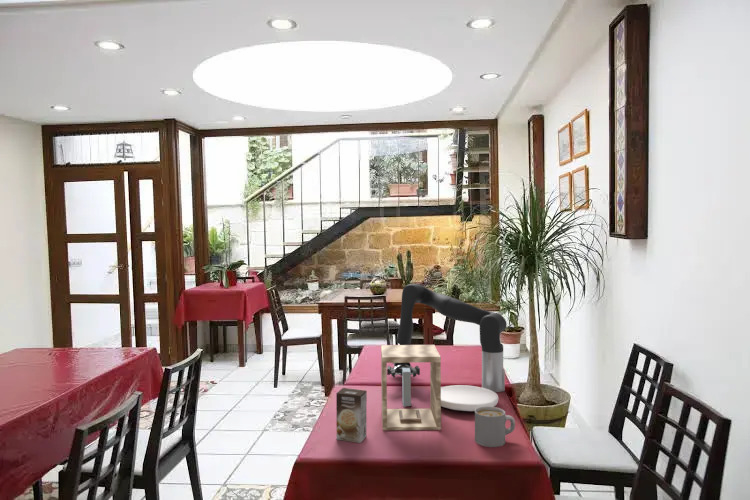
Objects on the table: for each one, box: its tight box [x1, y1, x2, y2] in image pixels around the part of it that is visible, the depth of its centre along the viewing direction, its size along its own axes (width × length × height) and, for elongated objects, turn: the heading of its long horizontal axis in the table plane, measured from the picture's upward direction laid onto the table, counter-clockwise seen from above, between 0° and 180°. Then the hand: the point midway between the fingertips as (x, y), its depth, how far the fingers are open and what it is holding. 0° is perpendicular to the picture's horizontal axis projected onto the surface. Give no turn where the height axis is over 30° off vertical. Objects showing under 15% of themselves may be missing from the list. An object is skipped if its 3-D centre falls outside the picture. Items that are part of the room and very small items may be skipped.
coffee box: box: [335, 387, 368, 444], centre depth 179 cm, size 9×6×16 cm
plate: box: [441, 384, 499, 412], centre depth 213 cm, size 28×6×27 cm
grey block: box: [401, 368, 412, 408], centre depth 214 cm, size 3×6×14 cm, turn 1°
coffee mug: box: [474, 406, 516, 448], centre depth 176 cm, size 13×10×10 cm
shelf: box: [380, 344, 442, 431], centre depth 195 cm, size 20×19×26 cm
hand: (404, 375), depth 225 cm, fingers open, 8 cm apart
